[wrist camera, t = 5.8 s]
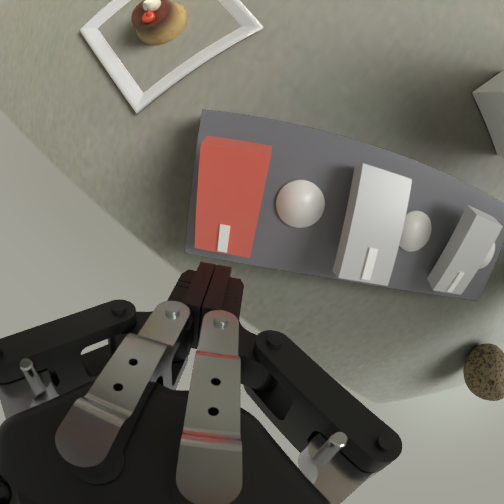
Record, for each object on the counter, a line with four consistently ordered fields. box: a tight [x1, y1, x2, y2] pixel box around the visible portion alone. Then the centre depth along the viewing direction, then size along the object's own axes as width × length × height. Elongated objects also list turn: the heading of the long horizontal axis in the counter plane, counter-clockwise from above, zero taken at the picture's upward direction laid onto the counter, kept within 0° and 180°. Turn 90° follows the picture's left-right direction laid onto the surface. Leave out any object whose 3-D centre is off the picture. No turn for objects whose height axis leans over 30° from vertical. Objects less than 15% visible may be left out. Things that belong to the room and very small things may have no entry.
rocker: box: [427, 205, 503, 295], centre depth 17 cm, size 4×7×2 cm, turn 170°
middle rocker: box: [333, 163, 412, 286], centre depth 16 cm, size 4×7×2 cm, turn 170°
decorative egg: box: [464, 344, 504, 401], centre depth 25 cm, size 7×7×10 cm
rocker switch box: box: [185, 109, 504, 301], centre depth 20 cm, size 28×10×4 cm, turn 80°
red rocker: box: [195, 136, 272, 258], centre depth 16 cm, size 4×7×2 cm, turn 170°
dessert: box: [79, 0, 263, 113], centre depth 14 cm, size 12×12×5 cm
